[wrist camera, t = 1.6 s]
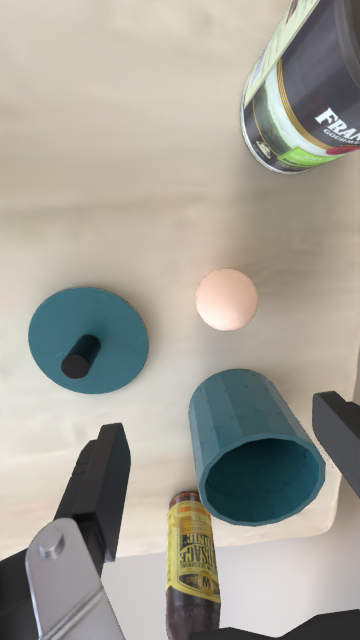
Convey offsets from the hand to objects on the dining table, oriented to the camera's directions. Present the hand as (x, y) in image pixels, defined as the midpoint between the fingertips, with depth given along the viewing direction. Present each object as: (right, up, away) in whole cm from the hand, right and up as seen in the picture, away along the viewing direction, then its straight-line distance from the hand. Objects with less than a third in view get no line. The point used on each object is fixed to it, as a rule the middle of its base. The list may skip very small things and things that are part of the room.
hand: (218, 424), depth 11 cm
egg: (+3, +8, +18) cm, 19 cm away
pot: (+5, -7, +23) cm, 25 cm away
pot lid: (-12, +2, +18) cm, 21 cm away
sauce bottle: (-1, -24, +29) cm, 37 cm away
